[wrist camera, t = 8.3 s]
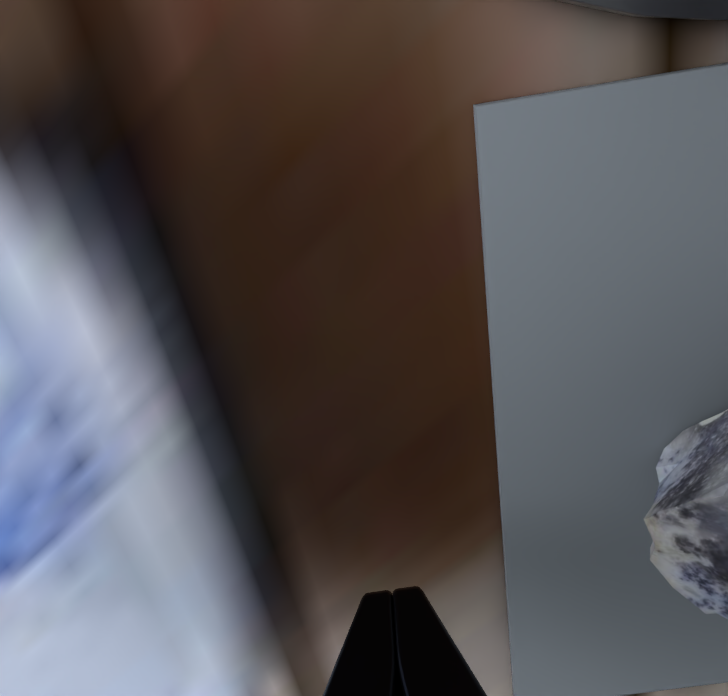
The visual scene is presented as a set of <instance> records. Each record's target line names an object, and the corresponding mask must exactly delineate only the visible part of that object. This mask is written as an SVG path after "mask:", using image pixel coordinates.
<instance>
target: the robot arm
mask: <svg viewBox="0 0 728 696" xmlns="http://www.w3.org/2000/svg"><path fill="white" fill-rule="evenodd" d="M323 696H487V695H486V694H485V692H484V690H483V689H482V687H481V685H480V684H479V682H478V680H477V679H476V677H475V676H474V674H473V672H472V671H471V669H470V667H469V666H468V664H467V663H466V661H465V659H464V658H463V656H462V654H461V653H460V651H459V649H458V648H457V646H456V645H455V643H454V641H453V640H452V638H451V636H450V635H449V633H448V631H447V630H446V628H445V627H444V625H443V623H442V622H441V620H440V618H439V617H438V615H437V613H436V612H435V610H434V609H433V607H432V605H431V604H430V602H429V600H428V599H427V597H426V595H425V594H424V592H423V591H422V589H421V588H420V587H418V586H413V587H406V588H399V589H395V590H394V591H393V595H392V593H391V592H390V591H388V590H384V591H377V592H370V593H366V594H365V595H364V596H363V598H362V600H361V602H360V604H359V607H358V609H357V612H356V614H355V617H354V619H353V622H352V624H351V627H350V629H349V632H348V634H347V637H346V639H345V642H344V644H343V647H342V649H341V652H340V654H339V657H338V659H337V662H336V664H335V667H334V669H333V672H332V674H331V677H330V679H329V682H328V684H327V687H326V689H325V692H324V694H323Z"/></svg>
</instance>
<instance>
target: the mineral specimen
mask: <svg viewBox="0 0 728 696" xmlns="http://www.w3.org/2000/svg"><path fill="white" fill-rule="evenodd" d="M656 471H657V475H658V480H659V486H658V489H657V492H656V495H655V499H654V503H653V505H652V507H651V508H650V510H649V511H648V513H647V514H646V516H645V518H644V521H645V524H646V526H647V528H648V531H649V533H650V535H651V537H652V540H653V543H652V545H651V547H650V561H651V562H652V563H653V564H654V566H655V567H656V568H657V569H658V570H659V572H660V573H661V574H662V575H663V576H664V578H665V579H666V580H667V581H668V582H669V584H670V585H671V586H672V587H673V588H674V589H675V590H677V591H678V592H679V593H680V594H682V595H683V596H684V597H685V598H687V599H688V600H689V601H690V602H692V603H693V604H694V605H695V606H697V607H698V608H699V609H700V610H702V611H703V612H704V613H705V614H714V613H717V614H719V615H721V616H722V617H724V618H726V619H728V409H727V410H726V411H724V412H722V413H720V414H718V415H715V416H713V417H711V418H709V419H706V420H704V421H702V422H700V423H698V424H695V425H693V426H691V427H689V428H687V429H685V430H683V431H682V432H681V433H680V434H679V435H678V436H677V437H676V438H675V439H674V440H673V441H672V442H671V443H670V444H669V445H667V446H666V447H665V448H664V450H663V452H662V454H661V457H660V459H659V461H658V464H657V466H656Z"/></svg>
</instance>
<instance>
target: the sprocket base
mask: <svg viewBox="0 0 728 696" xmlns="http://www.w3.org/2000/svg"><path fill="white" fill-rule="evenodd" d="M555 1H559V2H564V3H569V4H574V5H578V6H583V7H588V8H593V9H597V10H602V11H607V12H612V13H616V14H621V15H626V16H635V17H654V18H673V19H693V20H728V0H555Z"/></svg>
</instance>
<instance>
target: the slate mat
mask: <svg viewBox="0 0 728 696" xmlns="http://www.w3.org/2000/svg"><path fill="white" fill-rule="evenodd" d="M473 108H474V123H475V138H476V152H477V167H478V182H479V197H480V212H481V226H482V241H483V256H484V271H485V286H486V301H487V315H488V330H489V345H490V360H491V375H492V390H493V404H494V419H495V434H496V449H497V464H498V478H499V493H500V508H501V523H502V538H503V553H504V567H505V582H506V597H507V612H508V627H509V642H510V656H511V671H512V686H513V696H621V695H629V694H637V693H645V692H653V691H661V690H669V689H677V688H685V687H693V686H701V685H709V684H717V683H725V682H728V619H726V618H724V617H722V616H721V615H719V614H717V613H714V614H705V613H704V612H703V611H702V610H700V609H699V608H698V607H697V606H695V605H694V604H693V603H692V602H690V601H689V600H688V599H687V598H685V597H684V596H683V595H682V594H680V593H679V592H678V591H677V590H675V589H674V588H673V587H672V586H671V585H670V584H669V582H668V581H667V580H666V579H665V578H664V576H663V575H662V574H661V573H660V572H659V570H658V569H657V568H656V567H655V566H654V564H653V563H652V562H651V561H650V547H651V545H652V543H653V540H652V537H651V535H650V533H649V531H648V528H647V526H646V524H645V521H644V518H645V516H646V514H647V513H648V511H649V510H650V508H651V507H652V505H653V503H654V499H655V495H656V492H657V489H658V486H659V480H658V475H657V471H656V466H657V464H658V461H659V459H660V457H661V454H662V452H663V450H664V448H665V447H666V446H667V445H669V444H670V443H671V442H672V441H673V440H674V439H675V438H676V437H677V436H678V435H679V434H680V433H681V432H682V431H683V430H685V429H687V428H689V427H691V426H693V425H695V424H698V423H700V422H702V421H704V420H706V419H709V418H711V417H713V416H715V415H718V414H720V413H722V412H724V411H726V410H727V409H728V63H723V64H717V65H711V66H705V67H698V68H692V69H686V70H680V71H674V72H668V73H662V74H656V75H650V76H644V77H638V78H632V79H626V80H620V81H614V82H608V83H602V84H596V85H590V86H584V87H578V88H572V89H566V90H560V91H554V92H548V93H542V94H536V95H529V96H523V97H517V98H511V99H505V100H499V101H493V102H487V103H481V104H475V105H473Z"/></svg>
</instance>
